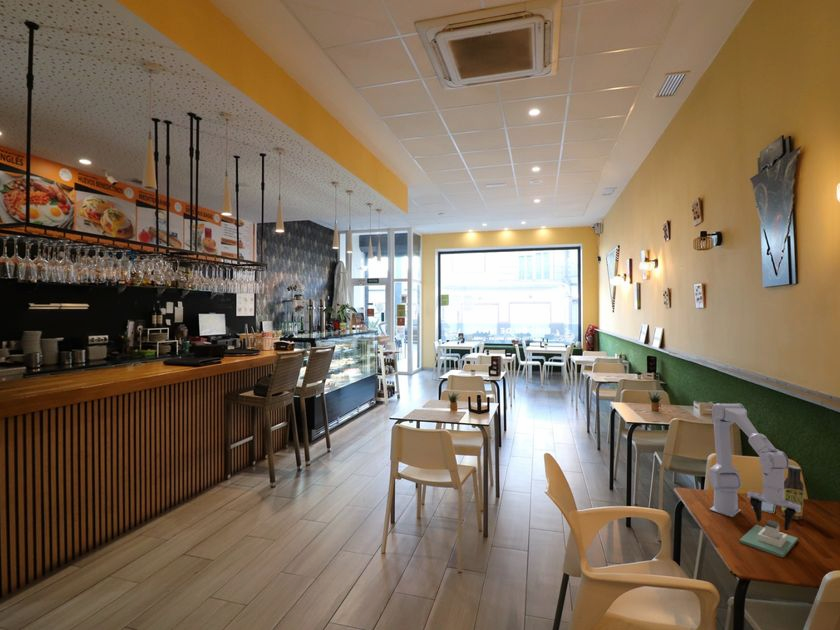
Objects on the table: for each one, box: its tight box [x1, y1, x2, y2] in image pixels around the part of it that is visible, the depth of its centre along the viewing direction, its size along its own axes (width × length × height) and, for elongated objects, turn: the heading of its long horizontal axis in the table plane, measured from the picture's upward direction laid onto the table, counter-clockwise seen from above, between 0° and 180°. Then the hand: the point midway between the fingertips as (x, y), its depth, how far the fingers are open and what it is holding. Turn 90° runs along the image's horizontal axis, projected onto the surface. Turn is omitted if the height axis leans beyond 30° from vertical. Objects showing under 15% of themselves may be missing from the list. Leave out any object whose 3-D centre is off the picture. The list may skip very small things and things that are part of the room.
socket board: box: [739, 524, 799, 559], centre depth 153 cm, size 18×12×3 cm, turn 128°
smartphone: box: [751, 501, 777, 515], centre depth 182 cm, size 7×1×15 cm
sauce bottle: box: [781, 464, 805, 521], centre depth 171 cm, size 7×6×20 cm
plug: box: [764, 519, 780, 540], centre depth 152 cm, size 4×3×6 cm
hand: (772, 524), depth 152 cm, fingers open, 7 cm apart
